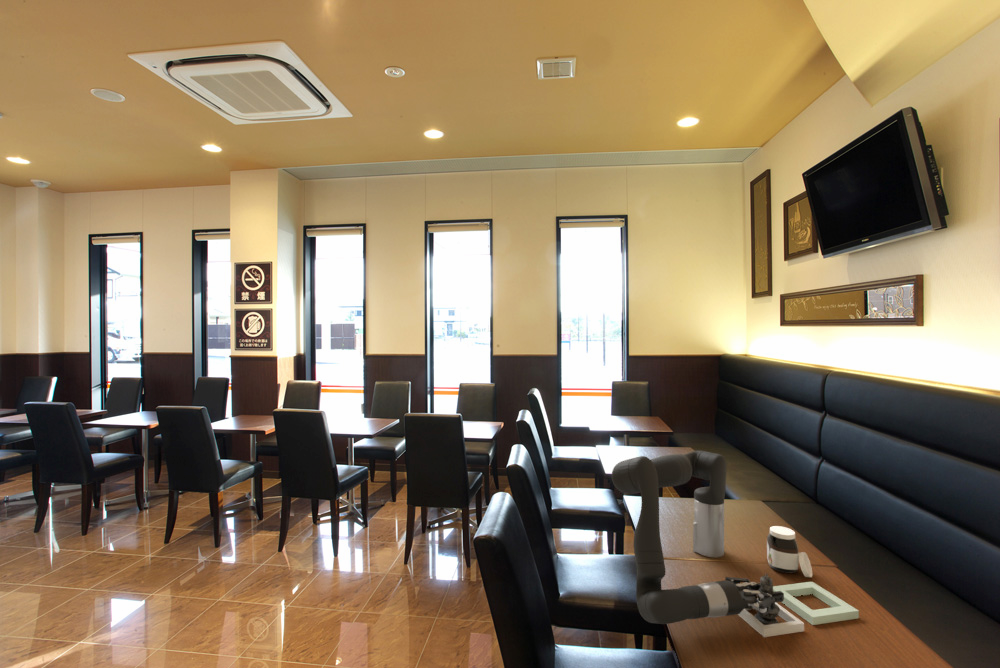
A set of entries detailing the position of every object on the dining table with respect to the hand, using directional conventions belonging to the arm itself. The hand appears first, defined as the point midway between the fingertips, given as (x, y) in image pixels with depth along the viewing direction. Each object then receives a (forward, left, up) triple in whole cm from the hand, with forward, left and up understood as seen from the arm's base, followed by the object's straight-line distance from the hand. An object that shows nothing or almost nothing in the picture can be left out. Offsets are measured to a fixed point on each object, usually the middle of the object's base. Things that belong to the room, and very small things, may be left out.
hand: (775, 591), depth 118 cm
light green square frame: (+9, +11, -7) cm, 16 cm away
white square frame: (-2, -2, -7) cm, 8 cm away
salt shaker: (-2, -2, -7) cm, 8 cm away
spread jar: (+5, +30, -7) cm, 31 cm away
